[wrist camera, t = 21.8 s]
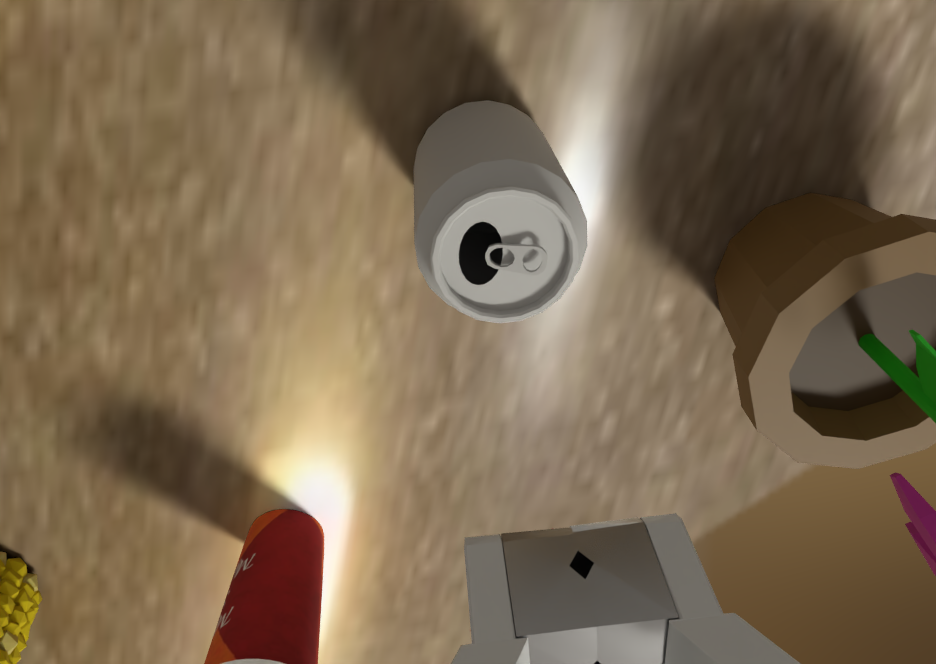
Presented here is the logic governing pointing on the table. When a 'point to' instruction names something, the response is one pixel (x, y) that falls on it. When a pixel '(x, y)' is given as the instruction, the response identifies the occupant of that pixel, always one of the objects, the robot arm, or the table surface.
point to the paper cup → (274, 594)
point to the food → (16, 607)
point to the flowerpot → (837, 336)
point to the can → (494, 214)
